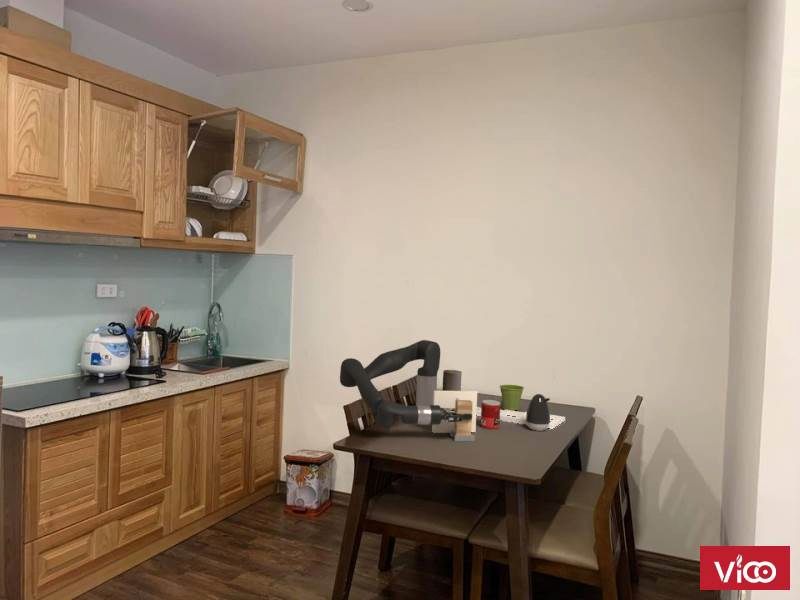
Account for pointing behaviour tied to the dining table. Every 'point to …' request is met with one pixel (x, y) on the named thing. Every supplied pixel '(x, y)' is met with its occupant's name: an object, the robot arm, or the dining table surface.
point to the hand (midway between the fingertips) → (469, 414)
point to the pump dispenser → (538, 413)
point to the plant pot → (511, 396)
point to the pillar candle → (451, 380)
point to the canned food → (490, 414)
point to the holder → (523, 417)
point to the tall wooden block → (465, 425)
